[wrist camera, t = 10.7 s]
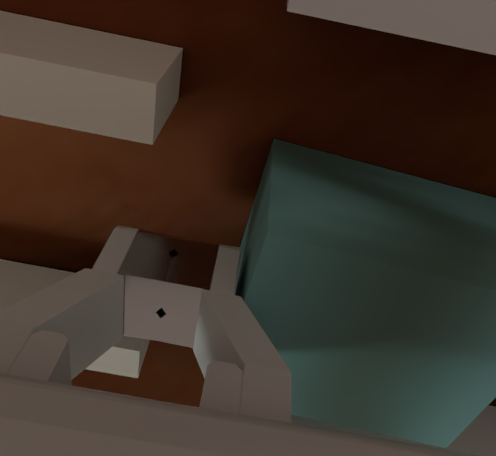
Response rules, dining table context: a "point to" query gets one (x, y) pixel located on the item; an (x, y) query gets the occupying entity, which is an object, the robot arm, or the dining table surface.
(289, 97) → the dining table surface
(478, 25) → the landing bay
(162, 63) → the chute
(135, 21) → the dining table surface
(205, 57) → the dining table surface
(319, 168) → the teal block
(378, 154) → the dining table surface
